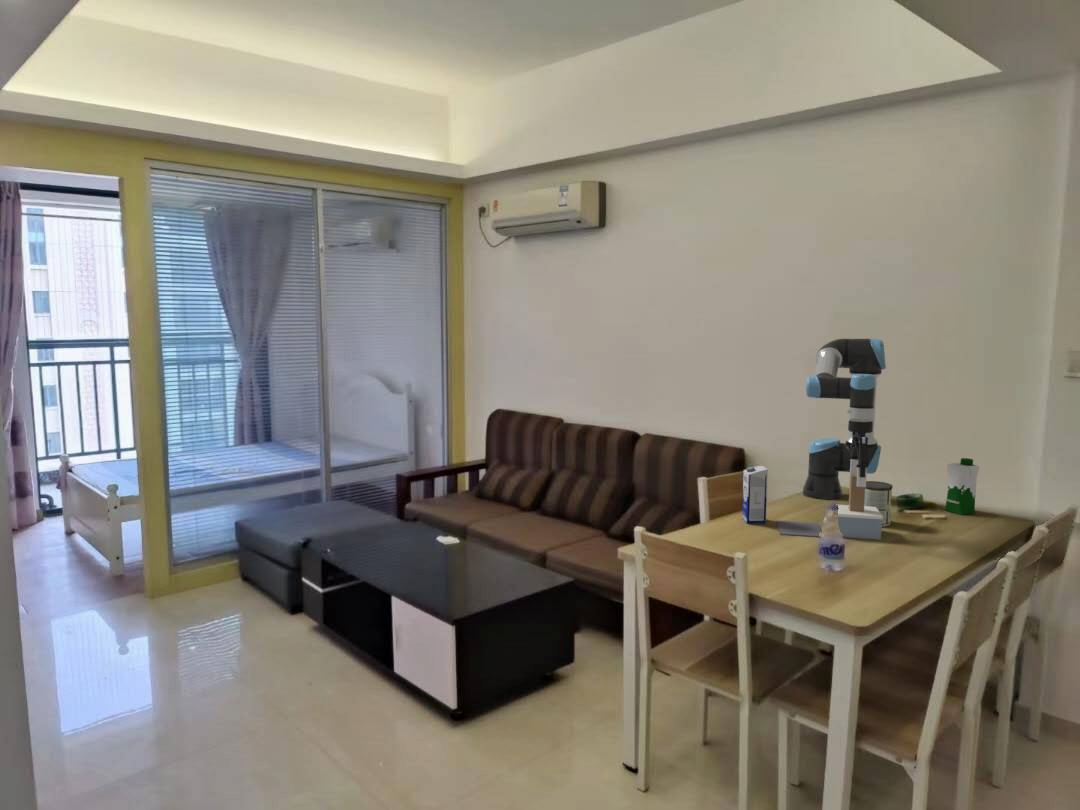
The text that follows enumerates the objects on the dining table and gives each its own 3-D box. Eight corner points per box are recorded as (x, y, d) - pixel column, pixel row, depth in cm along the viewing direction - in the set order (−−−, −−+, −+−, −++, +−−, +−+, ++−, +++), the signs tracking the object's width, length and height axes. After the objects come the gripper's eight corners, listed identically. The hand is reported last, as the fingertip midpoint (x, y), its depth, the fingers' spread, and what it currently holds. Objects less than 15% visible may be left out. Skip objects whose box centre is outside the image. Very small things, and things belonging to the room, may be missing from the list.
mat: (776, 521, 264) (776, 520, 264) (817, 524, 260) (817, 523, 260) (780, 534, 248) (780, 533, 248) (823, 537, 245) (823, 536, 245)
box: (830, 526, 258) (831, 507, 257) (873, 529, 254) (874, 509, 253) (835, 536, 246) (836, 516, 245) (880, 539, 243) (881, 519, 242)
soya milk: (978, 513, 274) (982, 460, 272) (962, 516, 271) (966, 462, 268) (956, 507, 282) (960, 456, 280) (940, 510, 279) (944, 458, 276)
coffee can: (854, 518, 268) (856, 480, 266) (884, 519, 267) (886, 481, 265) (864, 526, 258) (866, 487, 256) (894, 527, 257) (897, 487, 255)
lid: (830, 511, 257) (832, 470, 255) (875, 514, 254) (877, 472, 252) (835, 521, 245) (837, 478, 243) (882, 524, 242) (885, 480, 240)
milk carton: (765, 523, 261) (767, 468, 259) (746, 523, 261) (748, 468, 259) (760, 518, 268) (762, 464, 266) (741, 518, 268) (743, 464, 266)
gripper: (842, 415, 258) (840, 474, 261) (855, 424, 234) (851, 489, 237) (865, 415, 256) (862, 475, 259) (880, 425, 232) (877, 491, 235)
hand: (857, 482), depth 248 cm, fingers open, 13 cm apart
